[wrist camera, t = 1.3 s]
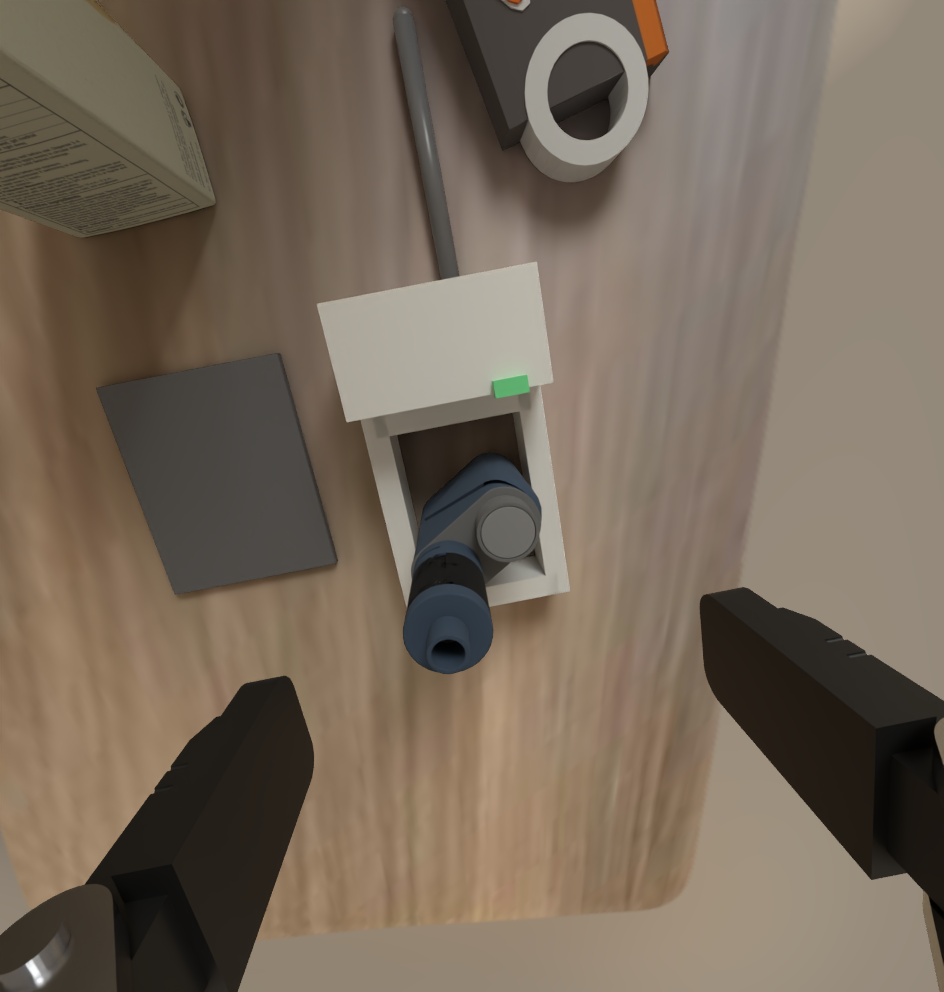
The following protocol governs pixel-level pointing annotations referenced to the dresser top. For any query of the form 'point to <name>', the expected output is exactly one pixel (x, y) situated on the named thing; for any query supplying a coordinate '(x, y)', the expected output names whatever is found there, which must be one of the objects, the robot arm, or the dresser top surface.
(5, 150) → the skincare box
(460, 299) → the dock
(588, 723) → the dresser top surface
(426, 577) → the vaping device
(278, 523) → the mat
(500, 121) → the electronic device
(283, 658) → the dresser top surface
